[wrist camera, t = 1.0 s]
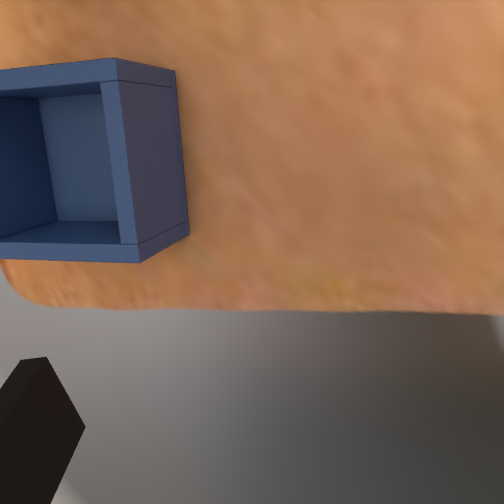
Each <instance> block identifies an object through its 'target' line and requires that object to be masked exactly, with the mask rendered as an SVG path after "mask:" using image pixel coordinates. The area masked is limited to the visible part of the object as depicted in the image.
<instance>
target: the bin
mask: <svg viewBox="0 0 504 504" xmlns="http://www.w3.org/2000/svg"><path fill="white" fill-rule="evenodd" d="M189 234H190V232H189V221H188V210H187V199H186V188H185V177H184V166H183V155H182V144H181V133H180V122H179V111H178V99H177V88H176V77H175V71H174V70H169V69H165V68H161V67H156V66H151V65H147V64H142V63H138V62H133V61H128V60H124V59H119V58H106V59H96V60H87V61H78V62H68V63H59V64H50V65H40V66H31V67H22V68H12V69H3V70H0V259H22V260H53V261H84V262H116V263H141V262H143V261H144V260H146V259H148V258H150V257H151V256H153V255H155V254H157V253H158V252H160V251H162V250H164V249H165V248H167V247H169V246H171V245H172V244H174V243H176V242H178V241H179V240H181V239H183V238H184V237H186V236H188V235H189Z"/></svg>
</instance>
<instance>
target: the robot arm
mask: <svg viewBox="0 0 504 504" xmlns="http://www.w3.org/2000/svg"><path fill="white" fill-rule="evenodd" d="M84 429H85V425H84V423H83V421H82V420H81V418H80V416H79V414H78V412H77V410H76V409H75V407H74V405H73V403H72V401H71V400H70V398H69V396H68V394H67V393H66V391H65V389H64V387H63V385H62V384H61V382H60V380H59V378H58V376H57V375H56V373H55V371H54V370H53V368H52V366H51V364H50V362H49V360H48V359H47V357H41V358H33V359H24V360H20V362H19V363H18V365H17V366H16V368H15V369H14V370H13V372H12V373H11V374H10V376H9V377H8V379H7V380H6V382H5V383H4V384H3V386H2V387H1V389H0V504H51V501H52V499H53V497H54V495H55V492H56V491H57V488H58V486H59V484H60V482H61V480H62V477H63V475H64V473H65V471H66V469H67V466H68V464H69V462H70V460H71V458H72V456H73V453H74V451H75V449H76V447H77V445H78V442H79V440H80V438H81V436H82V434H83V431H84Z"/></svg>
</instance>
